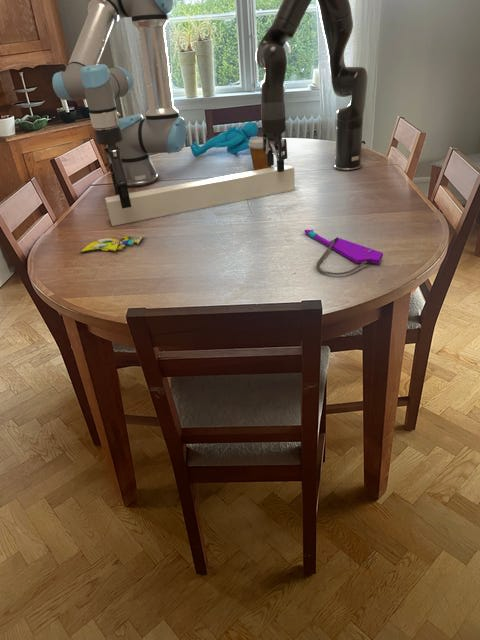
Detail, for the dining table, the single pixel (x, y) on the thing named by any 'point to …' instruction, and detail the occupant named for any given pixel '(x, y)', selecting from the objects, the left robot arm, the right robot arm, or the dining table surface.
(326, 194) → the dining table surface
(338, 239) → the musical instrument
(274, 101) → the right robot arm
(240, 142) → the toy
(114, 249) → the toy
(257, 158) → the disposable coffee cup
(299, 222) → the dining table surface
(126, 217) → the post
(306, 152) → the dining table surface
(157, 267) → the dining table surface
